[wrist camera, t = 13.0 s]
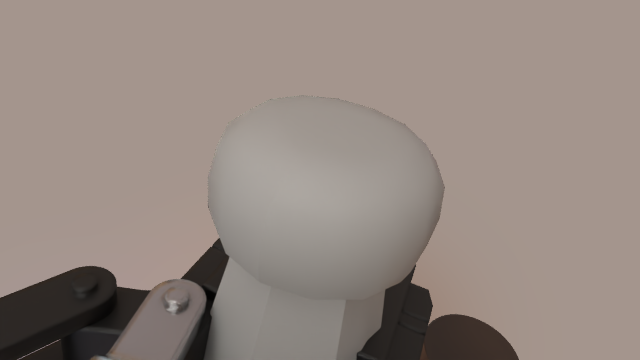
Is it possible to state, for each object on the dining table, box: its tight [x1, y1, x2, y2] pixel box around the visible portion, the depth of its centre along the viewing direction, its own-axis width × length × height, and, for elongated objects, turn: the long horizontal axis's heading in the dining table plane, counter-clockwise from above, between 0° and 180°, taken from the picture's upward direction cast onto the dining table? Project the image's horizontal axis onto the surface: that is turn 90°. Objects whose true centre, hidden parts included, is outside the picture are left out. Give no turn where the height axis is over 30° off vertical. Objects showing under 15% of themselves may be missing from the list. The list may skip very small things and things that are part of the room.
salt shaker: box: [204, 96, 445, 360], centre depth 12 cm, size 6×6×13 cm
